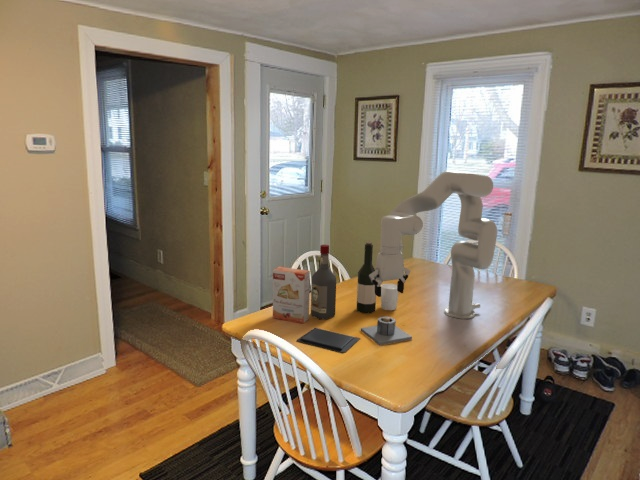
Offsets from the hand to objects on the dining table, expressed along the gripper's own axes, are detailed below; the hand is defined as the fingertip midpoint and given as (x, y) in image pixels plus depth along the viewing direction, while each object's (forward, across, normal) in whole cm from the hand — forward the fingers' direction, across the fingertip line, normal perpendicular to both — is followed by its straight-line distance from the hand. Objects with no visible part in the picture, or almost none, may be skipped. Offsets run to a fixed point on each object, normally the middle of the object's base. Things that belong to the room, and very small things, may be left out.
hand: (389, 293), depth 177 cm
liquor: (+16, +15, -27) cm, 35 cm away
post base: (+16, +1, 0) cm, 16 cm away
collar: (+15, +1, 0) cm, 15 cm away
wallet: (+17, +23, -4) cm, 29 cm away
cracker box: (+16, +29, -28) cm, 43 cm away
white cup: (+17, -16, -25) cm, 34 cm away
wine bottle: (+17, -5, -26) cm, 31 cm away
